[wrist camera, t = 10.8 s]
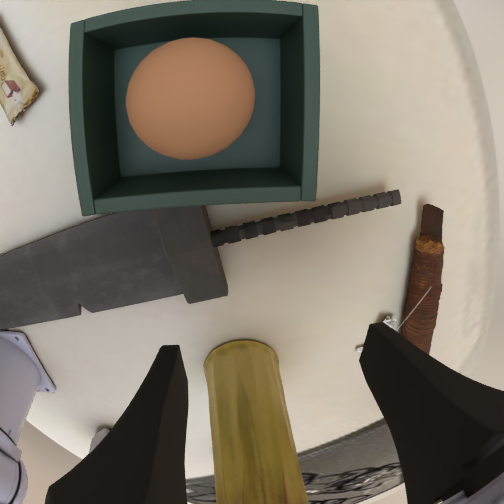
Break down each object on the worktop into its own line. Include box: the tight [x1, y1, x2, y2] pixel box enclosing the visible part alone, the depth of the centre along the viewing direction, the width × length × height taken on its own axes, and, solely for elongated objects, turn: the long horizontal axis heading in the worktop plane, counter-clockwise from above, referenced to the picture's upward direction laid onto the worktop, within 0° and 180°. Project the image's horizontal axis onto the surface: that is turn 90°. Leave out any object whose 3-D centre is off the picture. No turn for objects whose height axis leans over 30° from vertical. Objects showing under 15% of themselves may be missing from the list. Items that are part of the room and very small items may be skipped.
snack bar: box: [0, 28, 39, 126], centre depth 10 cm, size 10×2×3 cm
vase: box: [204, 340, 309, 504], centre depth 17 cm, size 6×6×14 cm
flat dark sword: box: [0, 190, 401, 330], centre depth 17 cm, size 7×35×2 cm, turn 102°
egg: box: [126, 37, 255, 160], centre depth 11 cm, size 5×5×7 cm
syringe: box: [356, 287, 431, 352], centre depth 22 cm, size 10×2×2 cm
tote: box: [69, 0, 320, 216], centre depth 13 cm, size 10×9×5 cm
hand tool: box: [402, 204, 444, 355], centre depth 23 cm, size 26×3×4 cm, turn 11°
